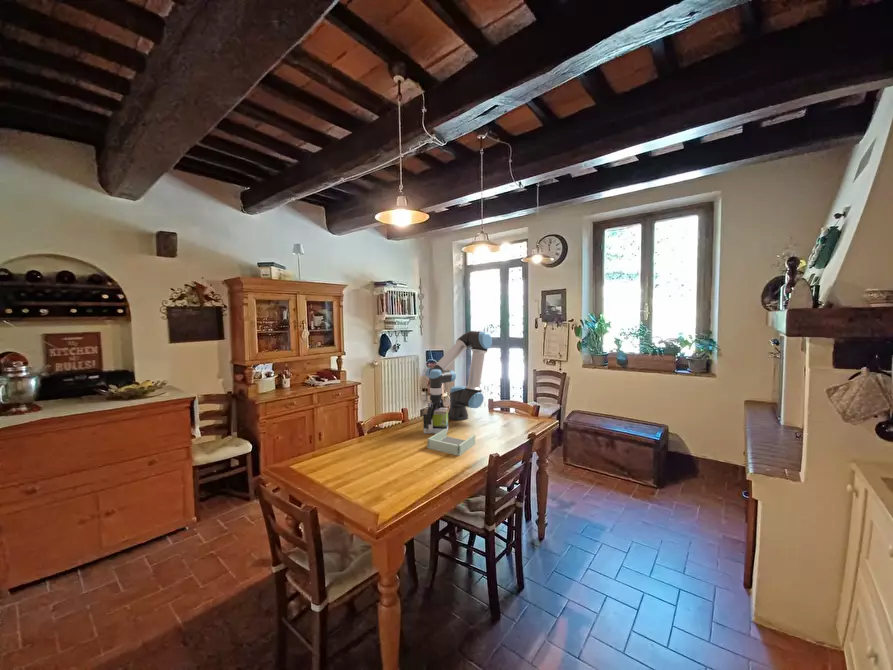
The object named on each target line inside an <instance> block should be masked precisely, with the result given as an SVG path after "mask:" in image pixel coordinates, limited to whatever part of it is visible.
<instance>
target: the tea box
mask: <svg viewBox="0 0 893 670" xmlns="http://www.w3.org/2000/svg"><path fill="white" fill-rule="evenodd" d="M427 411H428V407H425V408H424V409H423V414H422V415H423V416H422V417H423V434H434V435H435V434H437V433H439V432H441V431H442V430H444V429H447V432H448V430H449V418H448V412H449V407H444V408H436V410H435V411H434V414H433V417H432V419H433V430H431V429H429V424H428V419H426V416H427Z"/></svg>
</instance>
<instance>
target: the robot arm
mask: <svg viewBox="0 0 893 670" xmlns="http://www.w3.org/2000/svg"><path fill="white" fill-rule="evenodd" d="M492 344H493V340H492V336H491V335H490V333H488V332H485V331H475V330H470V331H467V332H465V333H463V334H462V335H461V336H460V337H458V338H457V340H456V341H455V343H454V345H453V346H451V348H449V350H448V351H446V353H444V355H443V356H442V357H441V358H440V359H439V360H438V361H437V363H435V365H433V367H429V368H427V369H426V371H425V376H426V377H427V378H429V401H431V403H428V411H427V416H426V419H428V424H429V429H431V430H433V419H432V417H433V414H434V411H435V410H436V408H445V405H444V399H443V398H442V394H443V393H442V384H446V383H451V382H454V381H455V380H456V378H457V374H456V372H455V370H453V369H449V370H447V369H448V368H449V366H451V364H453V362H454V361H455V360H456V359H457V358H458V357H459V356H460V355H461V353H463V351H466V350H467V349H468V348H470V351H472V354H471V361H470V367H469V368H470V369H469V375H468V381H467V382H468V383H467V385H466V386H465V385H456V386H452V387H451V388H450V391H449V408H448V420H452V421H464V420H468V418H469V413H468V409H467V408H470V409H479V408H480V407H481V406H482V405H483V403H484V400H485V397H484V393H482V389H481V381H482V375H483V373H482V372H483V366H484V361H485V354H486V353H487V352H488V349H489V350H490V348H491V347H492Z"/></svg>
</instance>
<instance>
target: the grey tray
mask: <svg viewBox="0 0 893 670" xmlns="http://www.w3.org/2000/svg"><path fill="white" fill-rule="evenodd" d="M447 433H448V431H447V429H444V430H442V431H441V432H439V433H437V434H434V435H432V436H430V437H428V438H427V449H430V450H433V451H438V452H440V453H441V452H442V453H445V454H449V455H453V456H458V457H460V456H461V455H463V454H464V453H465V452H467V451H468V450H470V449H471V448H472V447H474V446H475V444H476V434H472V435H471V436H470V437H468V438H467V439H466V440H464V439H461V438H455V437H452V436H447V435H448V434H447Z"/></svg>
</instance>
